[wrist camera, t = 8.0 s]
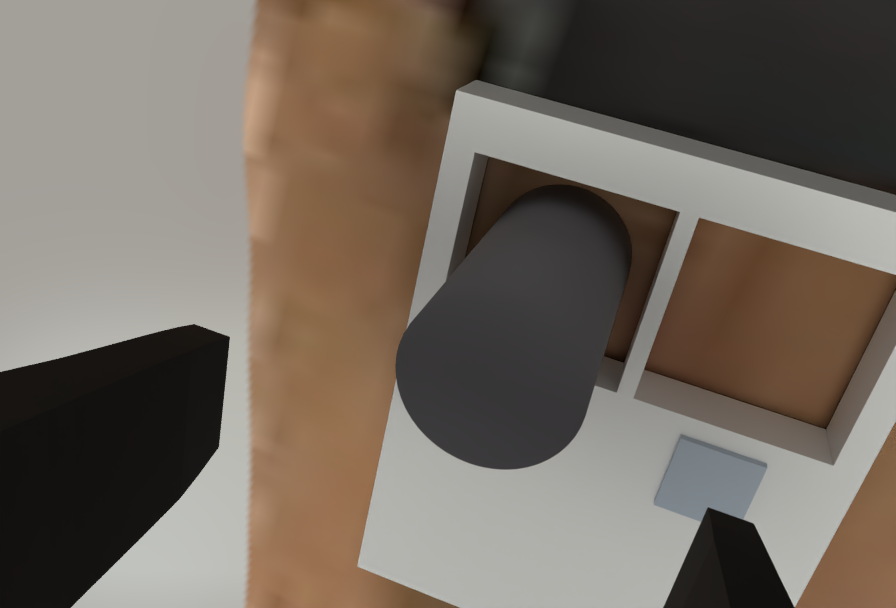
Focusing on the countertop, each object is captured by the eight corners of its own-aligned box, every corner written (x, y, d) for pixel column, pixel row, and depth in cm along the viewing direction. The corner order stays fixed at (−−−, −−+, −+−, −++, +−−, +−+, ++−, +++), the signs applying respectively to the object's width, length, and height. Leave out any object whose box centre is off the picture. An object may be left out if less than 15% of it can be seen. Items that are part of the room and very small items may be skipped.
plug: (609, 333, 21) (560, 495, 15) (481, 293, 21) (381, 432, 15) (649, 207, 19) (613, 328, 13) (510, 168, 20) (413, 266, 14)
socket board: (734, 671, 23) (735, 723, 22) (377, 532, 25) (354, 571, 24) (972, 216, 17) (997, 242, 16) (476, 80, 19) (453, 91, 18)
